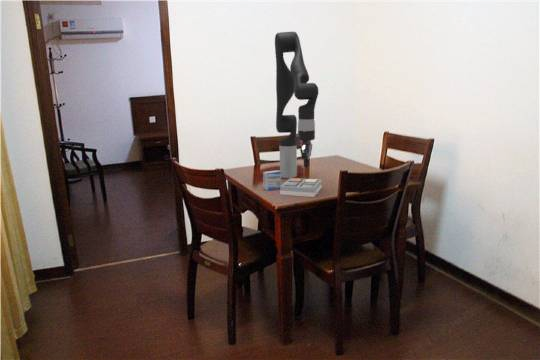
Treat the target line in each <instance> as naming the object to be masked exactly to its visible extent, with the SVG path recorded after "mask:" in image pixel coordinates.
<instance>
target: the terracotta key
mask: <svg viewBox="0 0 540 360" xmlns="http://www.w3.org/2000/svg"><path fill="white" fill-rule="evenodd" d="M302 179H303V178H297V177H294V178H292V179H291V180H290V182H299V183H301V182H302Z"/></svg>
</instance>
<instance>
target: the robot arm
mask: <svg viewBox="0 0 540 360" xmlns="http://www.w3.org/2000/svg"><path fill="white" fill-rule="evenodd" d="M274 49H275V50H274V51H275V52H274V53H275V65H276V67H275V68H276V69H275V70H276V71H275V72H276V76H275V77H276V78H275V84H276V86H275V89H276V117H275V118H276V119H275V128H276V131H277V133H279V134H280V133H281V134H285V133H289V135H288V136H286V137H284V138H281V139H279V140H278V141H279V142H278V143H279V145H278V146H279V148H278V149H279V171H281V179H282V178H283V179H290V178H297V176H298V164H297V163H298V162H297V161H298V160H297V158H298V157H297V154H298V152H297V151H298V150H297V148H298V147H297V145H298V143H297V140H299V141H302V142H301V145H300V147H301V148H300V155H301V159H302V160H303V167H304V168H309V167H310V158H311V157H312V150H313V144H312V141H314V140H315V139H316V122H315V108H316V105H317V104H316V103H317V99H318V96H319V87H318V85H317V84H316V83H315V82H309V81H310V75H309V73H308V72H309V71H308V70H307V67H306V65H305V61H304V56H303V51H302V46H301V41H300V37H299V35H298V33H297V32H296V31H281V32H277V33H276V34H275V36H274ZM285 53H294V56H293V58H292V61H291V63H290V68H289V67H288V65H287V64H286V61H285V59H284V54H285ZM293 96H294V97H295V98H296V100H299V101H305V100H307V102H306V103H305V104H303V105H299V107H298V120H297V116H296V115H295V114H284V111H285V108H286V107H287V104H288V103H289V102H290V100H291V99H292V98H293ZM283 114H284V115H283ZM297 121H298V122H297Z"/></svg>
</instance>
